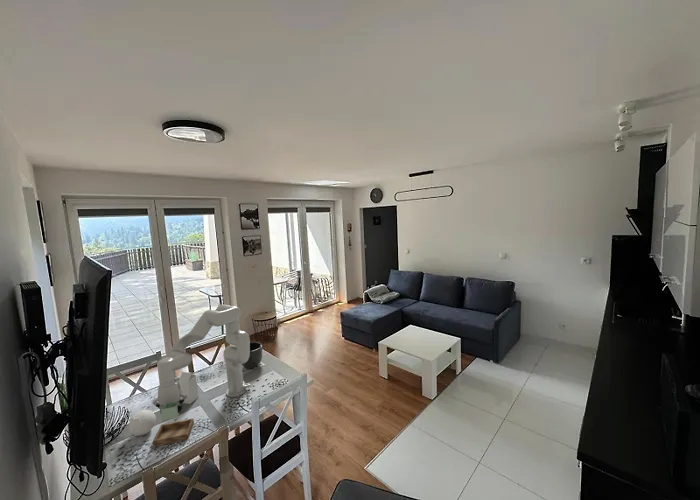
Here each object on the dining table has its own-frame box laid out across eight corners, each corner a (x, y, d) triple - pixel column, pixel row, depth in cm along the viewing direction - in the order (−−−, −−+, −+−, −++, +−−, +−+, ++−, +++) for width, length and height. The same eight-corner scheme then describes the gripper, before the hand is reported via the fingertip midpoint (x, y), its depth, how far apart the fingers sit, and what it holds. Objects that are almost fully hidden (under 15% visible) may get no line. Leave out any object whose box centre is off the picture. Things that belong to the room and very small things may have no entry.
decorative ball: (125, 438, 153) (121, 417, 152) (147, 422, 164) (144, 403, 163) (140, 443, 149) (137, 422, 147) (162, 427, 160) (159, 407, 159)
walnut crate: (194, 423, 162) (193, 418, 162) (188, 439, 151) (187, 433, 150) (162, 429, 158) (161, 424, 158) (153, 446, 147) (152, 441, 146)
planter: (268, 362, 225) (266, 343, 223) (252, 374, 210) (250, 353, 208) (251, 359, 232) (249, 340, 230) (234, 369, 217) (233, 350, 215)
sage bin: (181, 409, 157) (180, 398, 156) (177, 417, 150) (176, 407, 150) (166, 411, 155) (165, 401, 154) (162, 420, 148) (160, 409, 148)
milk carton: (190, 404, 179) (187, 375, 176) (180, 403, 180) (177, 375, 178) (198, 397, 186) (195, 369, 183) (189, 395, 187) (185, 368, 185)
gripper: (188, 375, 156) (191, 405, 158) (151, 380, 152) (155, 411, 154) (184, 382, 149) (187, 414, 151) (146, 389, 144) (150, 421, 147)
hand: (171, 412), depth 153 cm, fingers closed on sage bin, 7 cm apart
